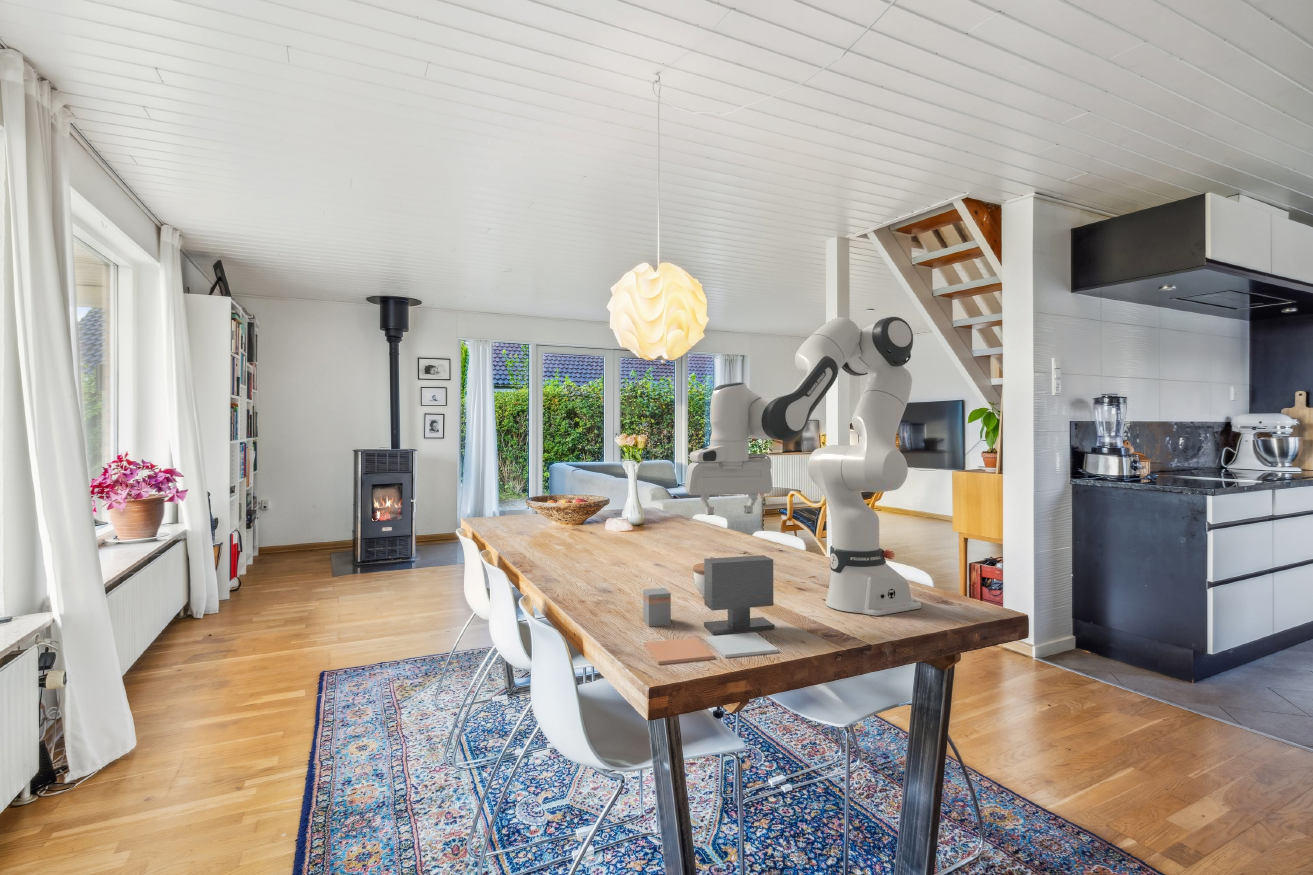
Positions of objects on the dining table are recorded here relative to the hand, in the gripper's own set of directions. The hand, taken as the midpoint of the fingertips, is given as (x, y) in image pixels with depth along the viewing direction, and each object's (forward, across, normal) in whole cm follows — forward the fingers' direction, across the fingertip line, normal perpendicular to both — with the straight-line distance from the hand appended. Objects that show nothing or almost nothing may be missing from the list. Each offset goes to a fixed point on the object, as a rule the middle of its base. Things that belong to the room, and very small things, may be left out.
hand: (729, 514), depth 150 cm
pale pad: (+24, +5, +19) cm, 31 cm away
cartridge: (+24, +17, -1) cm, 29 cm away
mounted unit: (+24, +1, +8) cm, 25 cm away
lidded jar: (+24, -3, -19) cm, 31 cm away
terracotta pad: (+24, +18, +19) cm, 35 cm away
